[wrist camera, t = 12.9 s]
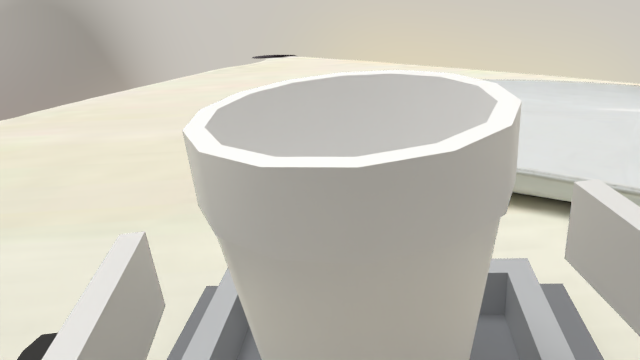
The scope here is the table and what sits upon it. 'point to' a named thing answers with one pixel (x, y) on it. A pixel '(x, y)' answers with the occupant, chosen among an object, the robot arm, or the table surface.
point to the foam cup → (358, 208)
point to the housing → (490, 336)
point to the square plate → (576, 137)
